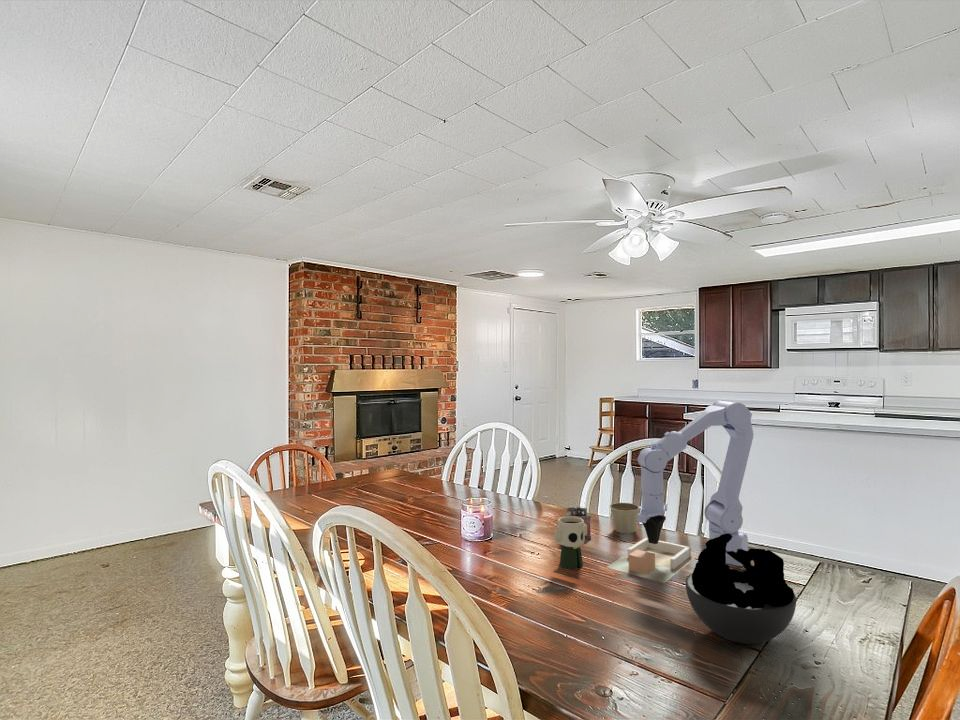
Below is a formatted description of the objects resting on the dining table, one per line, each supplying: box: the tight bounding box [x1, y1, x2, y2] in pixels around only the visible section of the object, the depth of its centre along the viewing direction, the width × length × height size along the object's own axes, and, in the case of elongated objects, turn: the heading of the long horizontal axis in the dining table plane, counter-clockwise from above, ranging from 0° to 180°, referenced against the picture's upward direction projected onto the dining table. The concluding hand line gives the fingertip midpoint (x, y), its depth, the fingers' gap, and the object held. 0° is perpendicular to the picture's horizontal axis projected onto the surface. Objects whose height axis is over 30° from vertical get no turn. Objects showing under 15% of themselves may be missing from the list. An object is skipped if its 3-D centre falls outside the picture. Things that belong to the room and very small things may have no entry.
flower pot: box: [609, 502, 640, 534], centre depth 174 cm, size 9×9×9 cm
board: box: [605, 548, 697, 584], centre depth 146 cm, size 16×22×1 cm
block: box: [629, 550, 655, 575], centre depth 141 cm, size 5×5×4 cm
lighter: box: [564, 505, 592, 541], centre depth 169 cm, size 8×3×10 cm, turn 84°
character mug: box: [553, 516, 587, 570], centre depth 146 cm, size 11×7×13 cm, turn 120°
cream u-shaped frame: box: [627, 537, 692, 569], centre depth 150 cm, size 13×12×2 cm
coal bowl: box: [684, 533, 797, 645], centre depth 108 cm, size 20×20×19 cm
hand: (653, 542), depth 147 cm, fingers closed
